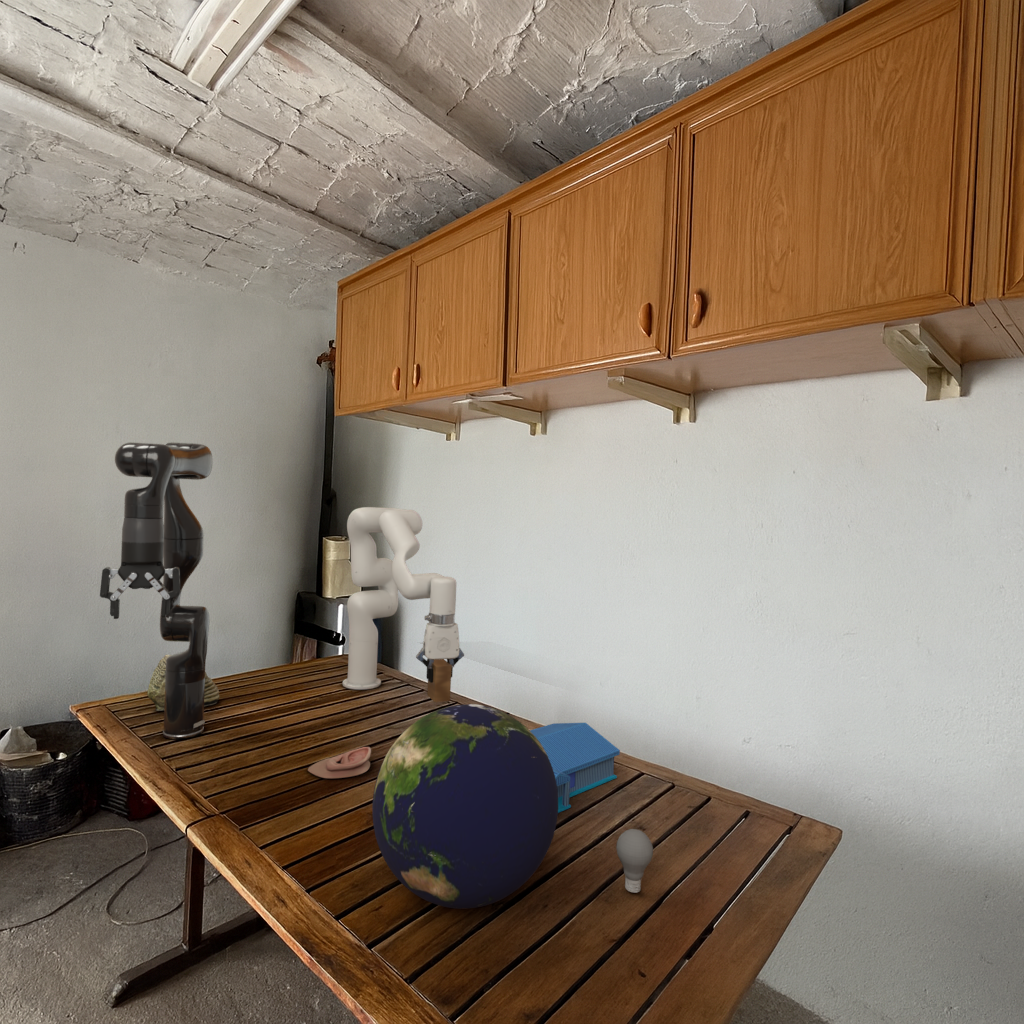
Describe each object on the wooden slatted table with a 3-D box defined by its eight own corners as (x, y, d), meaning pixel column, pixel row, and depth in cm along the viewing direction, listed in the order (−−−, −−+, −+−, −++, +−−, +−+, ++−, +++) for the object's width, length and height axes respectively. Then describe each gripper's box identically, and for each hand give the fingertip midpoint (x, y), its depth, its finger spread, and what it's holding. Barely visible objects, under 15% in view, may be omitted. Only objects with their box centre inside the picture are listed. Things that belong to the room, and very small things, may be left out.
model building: (501, 837, 120) (504, 785, 120) (427, 790, 139) (429, 744, 138) (628, 782, 147) (630, 739, 147) (552, 748, 165) (553, 710, 165)
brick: (434, 702, 182) (436, 666, 182) (427, 694, 189) (428, 659, 188) (450, 700, 184) (451, 665, 184) (442, 693, 191) (443, 658, 190)
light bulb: (610, 879, 108) (613, 822, 108) (644, 879, 109) (647, 822, 109) (619, 902, 102) (622, 840, 102) (655, 901, 103) (658, 840, 103)
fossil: (144, 707, 182) (145, 655, 182) (212, 696, 194) (213, 647, 194) (151, 716, 175) (153, 662, 175) (221, 703, 188) (223, 653, 188)
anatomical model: (301, 757, 143) (326, 739, 154) (300, 775, 143) (325, 755, 154) (355, 765, 140) (377, 746, 152) (355, 783, 140) (376, 762, 152)
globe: (328, 919, 95) (336, 721, 95) (427, 827, 123) (434, 674, 122) (512, 985, 84) (522, 760, 83) (576, 867, 112) (584, 698, 111)
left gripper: (99, 540, 125) (96, 622, 125) (180, 541, 131) (178, 619, 131) (105, 537, 131) (103, 615, 132) (182, 538, 137) (180, 613, 138)
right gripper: (417, 622, 179) (414, 686, 179) (473, 620, 186) (470, 682, 186) (410, 617, 186) (407, 679, 186) (465, 615, 193) (462, 675, 193)
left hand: (140, 617), depth 131 cm, fingers open, 8 cm apart
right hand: (439, 680), depth 186 cm, fingers closed on brick, 4 cm apart
